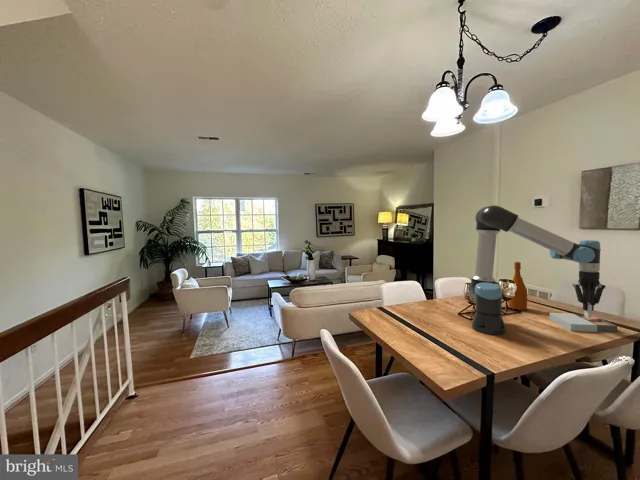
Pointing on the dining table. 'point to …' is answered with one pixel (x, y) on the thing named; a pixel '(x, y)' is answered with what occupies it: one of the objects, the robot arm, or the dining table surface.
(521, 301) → the wine bottle
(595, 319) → the tile far
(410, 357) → the dining table surface
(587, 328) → the board
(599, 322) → the tile near
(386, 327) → the dining table surface
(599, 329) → the tray
